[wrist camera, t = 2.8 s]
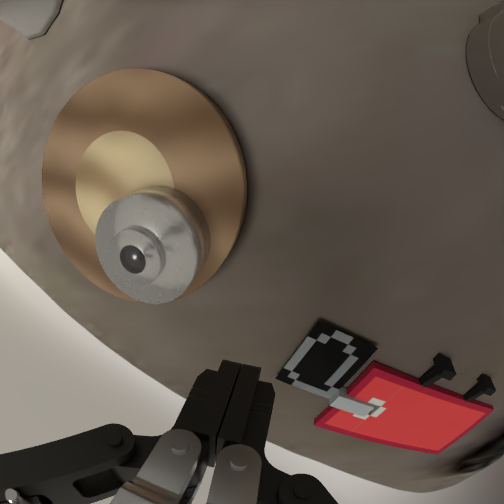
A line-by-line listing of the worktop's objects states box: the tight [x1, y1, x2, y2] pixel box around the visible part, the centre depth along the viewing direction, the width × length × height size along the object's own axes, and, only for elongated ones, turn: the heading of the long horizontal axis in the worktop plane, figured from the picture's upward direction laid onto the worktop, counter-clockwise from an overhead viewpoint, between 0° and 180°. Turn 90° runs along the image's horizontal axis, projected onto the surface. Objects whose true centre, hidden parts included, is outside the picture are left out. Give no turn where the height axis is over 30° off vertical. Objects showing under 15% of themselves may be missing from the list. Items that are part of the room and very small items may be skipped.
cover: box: [95, 185, 211, 304], centre depth 21 cm, size 8×8×5 cm
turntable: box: [42, 68, 247, 303], centre depth 24 cm, size 20×20×3 cm
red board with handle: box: [275, 322, 496, 454], centre depth 28 cm, size 30×3×15 cm
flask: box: [0, 0, 62, 40], centre depth 15 cm, size 7×7×10 cm
